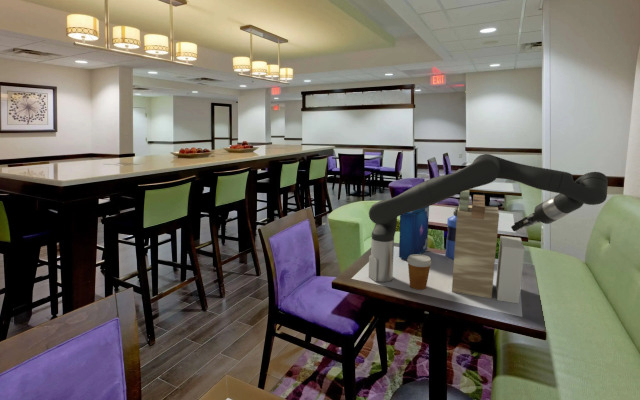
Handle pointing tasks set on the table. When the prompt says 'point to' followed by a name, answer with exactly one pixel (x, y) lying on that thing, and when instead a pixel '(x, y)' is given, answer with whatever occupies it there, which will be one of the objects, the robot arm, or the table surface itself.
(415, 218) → the book
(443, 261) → the table surface
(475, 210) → the walnut block
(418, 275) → the disposable coffee cup
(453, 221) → the water bottle
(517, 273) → the grey rectangular block
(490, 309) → the table surface
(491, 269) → the birch rack
